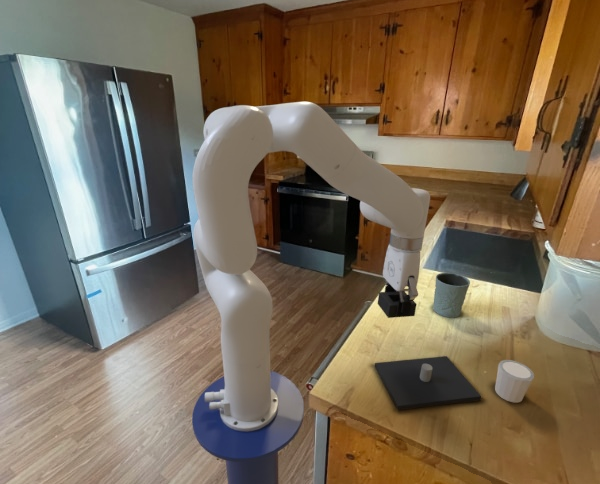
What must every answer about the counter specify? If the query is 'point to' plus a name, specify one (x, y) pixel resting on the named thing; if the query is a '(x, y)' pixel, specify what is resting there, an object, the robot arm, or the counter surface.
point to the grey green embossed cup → (450, 294)
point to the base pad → (425, 382)
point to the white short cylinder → (513, 380)
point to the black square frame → (393, 304)
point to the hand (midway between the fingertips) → (396, 306)
